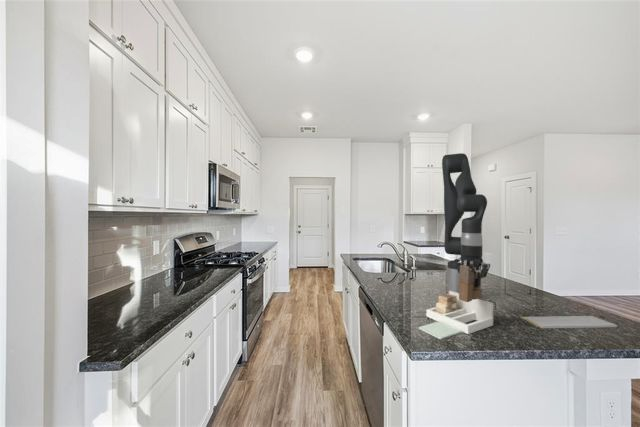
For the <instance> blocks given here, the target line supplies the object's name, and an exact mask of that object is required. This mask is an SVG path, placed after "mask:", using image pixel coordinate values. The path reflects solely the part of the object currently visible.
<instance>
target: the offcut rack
mask: <svg viewBox="0 0 640 427" xmlns="http://www.w3.org/2000/svg"><path fill="white" fill-rule="evenodd" d="M449 294H451V295H455V296H457V303H456V309H458V310H456V311H452V312H449V313H445V314H440V313H437V312H435V310H436V306H435V307H431V308H427V309H425V310H426V318H430V319H432V320H434V321H435V322H438V321H440V322H442V323H444V324H447V325H449V326H451V327H454V328H456V329H458V330H461V331H462V333H465V334H467V335H469V334H473V333H476V332H478V331H481V330H484V329H487V328H489V327H492V326H494V302H489V301H486V300H483V299H481V298H478V299H475V300H473V299H472V301H470V302H465V301H462V300H459V293H457V292H453V291H449ZM472 321H474V322H472ZM470 322H471V323H470ZM467 323H468V324H467Z"/></svg>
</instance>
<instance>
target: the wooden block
mask: <svg viewBox="0 0 640 427" xmlns="http://www.w3.org/2000/svg"><path fill="white" fill-rule="evenodd" d="M476 270H477V269H476ZM480 270H482V265H481V266H480ZM480 273H481V272H480ZM474 281H475V276H474V273H473V271H472V269H470V268H469V267H468V266H464V265H460V277H459V282H460V283H459V300H462V301H465V302H470V301H472V299H473V300H475V299H481V298H482V297H483V289H482V288H481V286H482V285H481V286H479V288H475V287H474Z"/></svg>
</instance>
